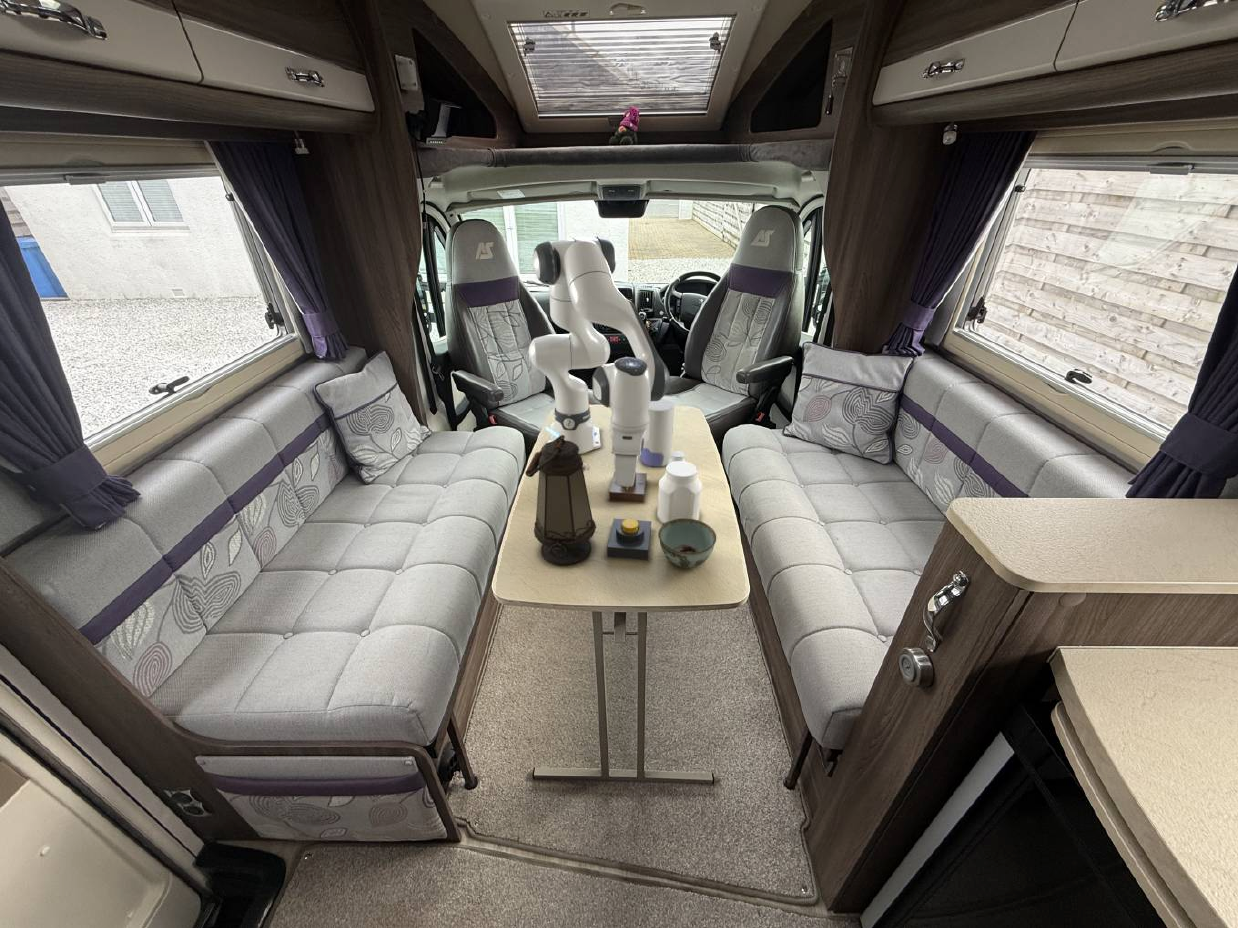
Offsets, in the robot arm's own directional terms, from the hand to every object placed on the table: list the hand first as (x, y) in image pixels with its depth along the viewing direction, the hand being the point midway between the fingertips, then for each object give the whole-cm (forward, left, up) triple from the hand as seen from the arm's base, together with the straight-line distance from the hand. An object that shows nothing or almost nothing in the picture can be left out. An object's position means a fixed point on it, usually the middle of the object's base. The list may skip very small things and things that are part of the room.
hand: (628, 482), depth 120 cm
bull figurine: (-20, -18, -17) cm, 32 cm away
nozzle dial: (-23, -2, -14) cm, 27 cm away
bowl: (+7, +15, -17) cm, 24 cm away
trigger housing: (+2, +1, -17) cm, 17 cm away
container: (-44, +5, -17) cm, 47 cm away
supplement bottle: (-30, +12, -17) cm, 37 cm away
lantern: (+6, -15, -17) cm, 24 cm away
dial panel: (-23, -2, -17) cm, 29 cm away
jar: (-12, +13, -17) cm, 25 cm away
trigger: (+2, +1, -13) cm, 13 cm away
